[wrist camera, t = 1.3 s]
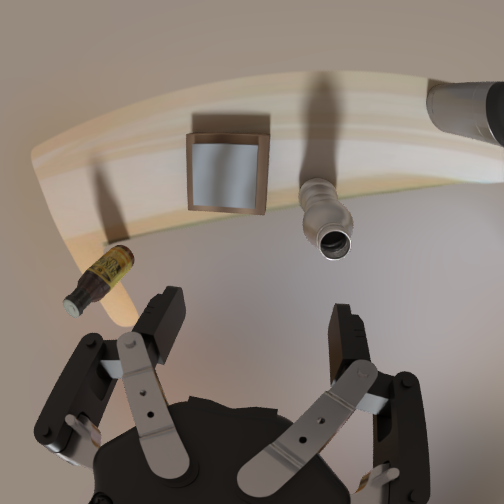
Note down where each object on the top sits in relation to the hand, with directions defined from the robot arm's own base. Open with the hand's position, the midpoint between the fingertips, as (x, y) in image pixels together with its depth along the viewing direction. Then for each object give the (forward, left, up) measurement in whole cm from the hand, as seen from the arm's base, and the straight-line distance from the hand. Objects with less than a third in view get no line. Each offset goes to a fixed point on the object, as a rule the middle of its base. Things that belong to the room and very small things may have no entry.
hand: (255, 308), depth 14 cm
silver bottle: (-7, +3, -35) cm, 36 cm away
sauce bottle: (+32, +19, -35) cm, 51 cm away
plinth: (+8, 0, -35) cm, 36 cm away
